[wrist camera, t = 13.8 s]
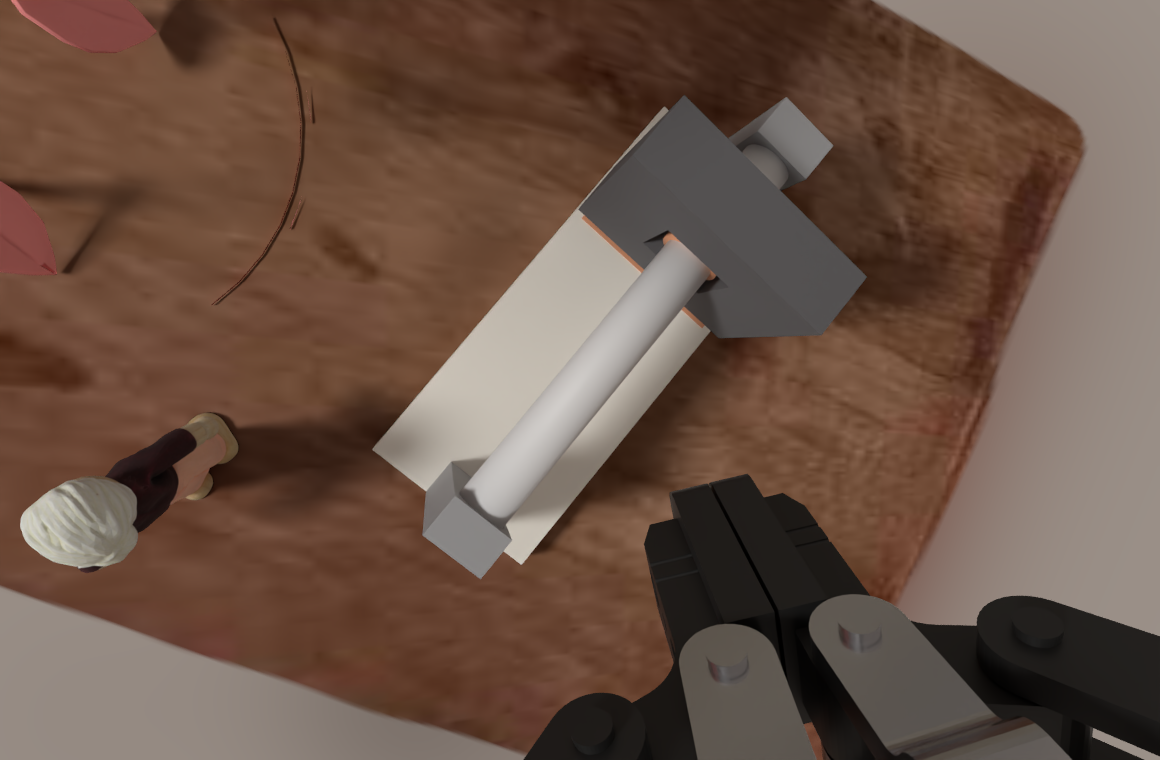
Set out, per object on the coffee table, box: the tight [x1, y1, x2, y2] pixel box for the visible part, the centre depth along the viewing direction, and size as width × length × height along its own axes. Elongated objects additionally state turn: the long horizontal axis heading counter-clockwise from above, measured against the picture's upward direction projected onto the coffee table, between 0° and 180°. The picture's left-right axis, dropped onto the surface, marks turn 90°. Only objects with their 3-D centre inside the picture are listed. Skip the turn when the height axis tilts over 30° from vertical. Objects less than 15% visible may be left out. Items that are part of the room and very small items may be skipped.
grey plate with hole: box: [578, 95, 867, 338], centre depth 31 cm, size 10×3×10 cm, turn 50°
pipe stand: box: [372, 97, 833, 579], centre depth 34 cm, size 10×24×10 cm, turn 140°
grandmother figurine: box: [20, 413, 238, 573], centre depth 29 cm, size 8×4×13 cm, turn 154°
